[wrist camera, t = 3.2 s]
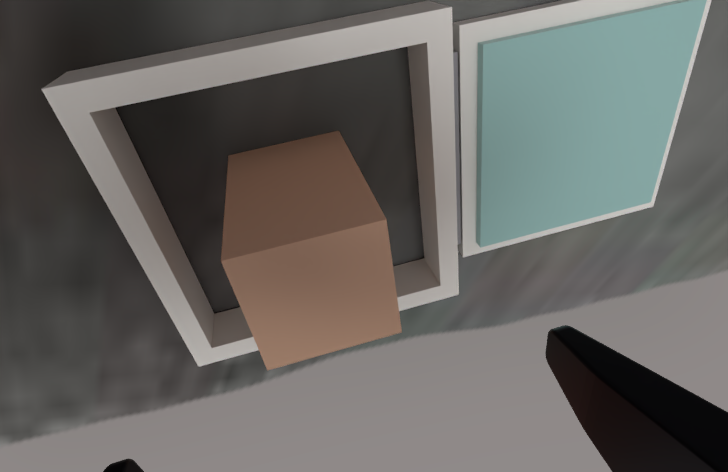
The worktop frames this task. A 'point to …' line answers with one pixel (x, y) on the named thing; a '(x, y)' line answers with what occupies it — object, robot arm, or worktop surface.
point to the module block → (307, 250)
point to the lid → (566, 113)
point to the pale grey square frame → (248, 61)
